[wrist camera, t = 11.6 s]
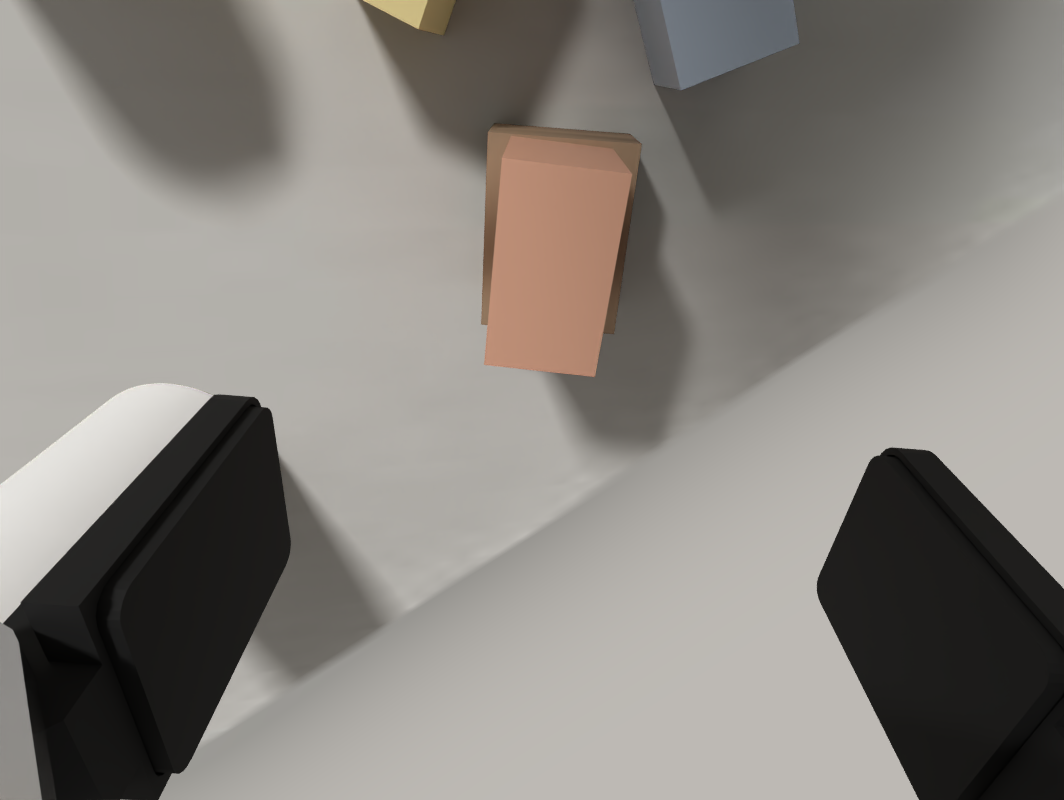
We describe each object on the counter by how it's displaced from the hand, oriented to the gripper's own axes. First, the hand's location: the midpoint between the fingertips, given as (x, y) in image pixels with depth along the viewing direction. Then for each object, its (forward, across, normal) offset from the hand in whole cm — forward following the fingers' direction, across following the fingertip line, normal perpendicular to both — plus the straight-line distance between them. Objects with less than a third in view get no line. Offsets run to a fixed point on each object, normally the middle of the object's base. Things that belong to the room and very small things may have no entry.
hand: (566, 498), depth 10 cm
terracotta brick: (+18, 0, 0) cm, 18 cm away
